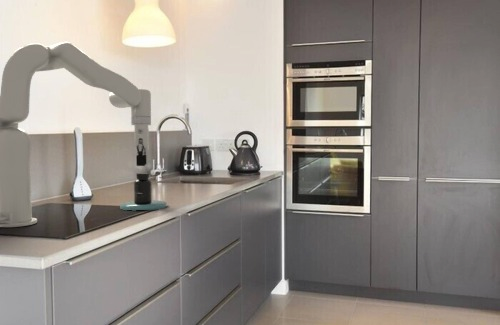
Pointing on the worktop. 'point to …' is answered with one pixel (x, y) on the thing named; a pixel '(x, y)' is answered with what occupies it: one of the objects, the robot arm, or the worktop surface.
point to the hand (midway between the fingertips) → (141, 165)
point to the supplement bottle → (142, 189)
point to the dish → (143, 206)
